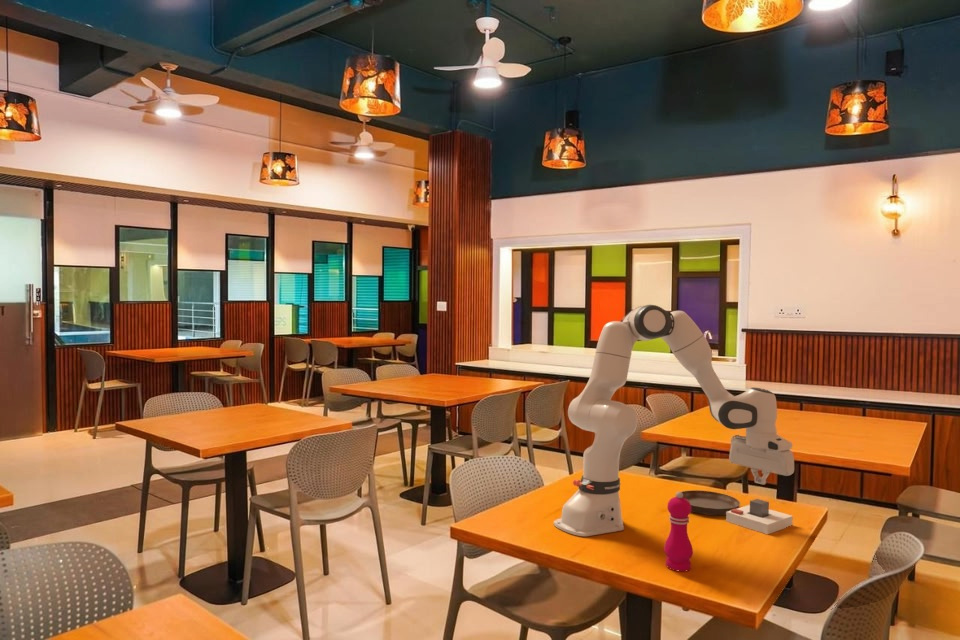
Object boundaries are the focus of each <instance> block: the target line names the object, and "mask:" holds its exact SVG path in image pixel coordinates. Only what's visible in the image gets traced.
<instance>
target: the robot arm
mask: <svg viewBox="0 0 960 640" xmlns="http://www.w3.org/2000/svg"><path fill="white" fill-rule="evenodd" d="M659 338H660V339H662V340H663V341H664V342H665V343H666V344H667V345H668V347H669V349H670V351H671V352H672V354H673V356H674V357H675V359H677V361H678V362H679V363H680V364H681V366H682V367H684V369H685V370H687V371H688V372H689V373H690V374H691V375H693V377H694V379H696V381H697V383H698V384H699V386H700V388H701V390H702V391H703V393H704V394H705V396H706V398H707V400H708V407H709V412H710V415H711V416H712V418H713V419H714V420H715V421H716V422H718V423H720V424H721V425H722V426H723V427H724V428H726V429H730V430H741V429H742V430H743V429H745V436H742V435H739V434H735V435H733V436H732V437H731V439H730V449H729V457H728V458H729V462H730V463H731V464H735V465H738V466H742V467H747V468H749V469H750V472H751V474H752V476H753V477H754V479H753V480H754V483H756V484H760V485H766V484H767V478H768V477H769V475H770V474H771V473H772V474H777V475H779V476H785V477H787V476H791V475H792V474H794V472H795V458H794V453H793V451H792V450H791V449H792V448H793V443H792V442H791V441H789V440H787V439H785V437H782V436H780V435H779V434H777V432H778V430H777V427H776V422H777V419H778V406H777V398H776V395H775V394H774V393H773V392H771V390H769V389H765V388H761V387H750V388H749V389H747V390H745V391H744V392H742V393H740V394H738V395H734V394H732V393H731V392H730V391H728V390H727V389H726V388H725V386H724V385H723V383H722V381H721V380H720V378H719V376H718V375H717V374H716V372H715V369H714V367H713V363H712V358H713V352H712V349H711V346H710V344H709V342H708V340H707V338H706V337H705V334H704V333H703V332H702V330H701V329H700V328H699V326H698V325H697V324H696V322H695V321H694V320H693V319H692V318H691V317H690V316H689V315H688V314H687V313H686V312H685V311H683V310H673V311H671V312H670V311H667V310H666V309H664V308H662V306H661V307H660V306H658V305H654V304H646V305H642V306H641V305H639V306H638V307H635V308H634V309H632V310H630V311H628V313H626V314H625V315H624V317H623V318H622V319H621V320H620V321H619V320H613V321H609V322H607V323H605V324H604V325H603V328H602V329H601V332H600V335H599V338H598V341H597V344H596V349H595V354H594V359H593V364H592V368H591V372H590V376H589V379H588V381H587V383H586V385H585V387H584V389H583V390H582V391H581V392H580V394H579V395H577V396H576V397H575V398H573V399H572V400H571V401H570V403H569V405H568V409H567V416H568V420H569V421H570V422H571V424H573V425H575V426H576V427H578V428H579V429H581V430H583V431H588V432H592V433H594V440H593V443H592V445H590V446H588V447H587V448H586V449H584V452H583V458H582V459H583V461H582V462H583V463H582V476H581V478H580V480H578V479H577V478H575V479H573V480H572V485H573V486H576V487H577V488H578V489H577V491H575V493H574V494H573V495H572V496H571V497H570V498H569V499H567V501H566V502H565V503H564V504H563V506H562V511H561V517H560V518H557V519H554V520H553V525H554V526H555V527H556V528H557V529H559V530H561V531H563V532H565V533H568V534H571V535H574V536H577V537H583V538H584V537H591V536H596V535H602V534H608V533H615V532H621V531H624V530H625V525H624V521H623V516H622V515H623V514H622V508H621V507H622V506H621V499H620V491H621V478H620V477H619V473H620V471H619V469H620V455H621V452H622V449H623V445H624V443H625V442H626V440H628V439H629V437H631V436H632V435H633V434H634V433H635V431H636V430H637V427H638V423H639V419H638V418H639V417H638V413H637V411H636V410H635V409H634V408H633V407H631V406H630V405H627V404H626V403H624V402H621V401H618V400H612V398H613V396H614V394H615V392H616V391H617V390H619V389H620V388H622V387H623V386H625V384H626V382H627V380H628V375H629V374H628V373H629V369H630V362H631V356H632V350H633V348H634V345H635V343H636V342H643V341H644V342H648V341H653V340H656V339H659ZM759 471H761V474H762V476H760V475H759Z"/></svg>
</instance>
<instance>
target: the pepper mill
mask: <svg viewBox="0 0 960 640" xmlns="http://www.w3.org/2000/svg"><path fill="white" fill-rule="evenodd" d="M682 492H683V491H677V492H676V493H675V495H676V497H672V498H670V499H669V501H668V503H667V510H668V511H667V512H668V513H669V515H668V517H669V519H668V520H669V522H670V531H669V534H668V536H667V538H666V541H665V543H664V549H663V551H664V554H665V555H666V559H665V566H666V567H667V566H668V567H669V568H671V569H674V570H679V571H685V572H687V571H686V570H689V569H690V568H691V567H692V562H691V558H692V557H693V554H694V549H693V545H692V543H691V540H690V538H689V535H688V534H689V533H688V524H689V523H690V517H689V515H690V514H691V512H692V511H691V504H690V502H689V501H688V500H687V499H685V498H682V497H683V493H682ZM669 568H668V569H669ZM671 569H670V570H671ZM690 570H691V569H690ZM690 570H689V571H690ZM679 571H678V572H679Z"/></svg>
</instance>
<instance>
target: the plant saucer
mask: <svg viewBox="0 0 960 640" xmlns="http://www.w3.org/2000/svg"><path fill="white" fill-rule="evenodd" d="M681 492H682V493H683V497H682V498H685V499H687V500H688V501H689V502H690V504H691V512H692V511H693V513H697V514H700V513H701V515H708V516H723V515H724V516H725V515H726V512H728V511H731V510H732V509H737V508H739V507H740V505H741V502H740V500H738V499H737V498H735V497H733V496H732V495H731V496H730V495H728V494H725V493H720V492H716V491H711V490H710V491H709V490H700V489H699V490H695V489H694V490H684V491H683V490H682V491H681ZM674 495H675V497H676V494H674Z"/></svg>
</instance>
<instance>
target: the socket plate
mask: <svg viewBox="0 0 960 640" xmlns="http://www.w3.org/2000/svg"><path fill="white" fill-rule="evenodd" d="M725 515H726V516H725V518H726V519H725V522H727V523H730V524H733V525H737V526H739V527H743V528H747V529H750V530H751V531H756V532H758V533H762V534H765V535H770V534H772V533H776V532H778V531H781V530H784V529H787V528H789V527H788V526H790V527H792V526H793V523H794V522H793V517H794V516H793V515H791V514H787V513H784V512H780V511H777V510H774V509H773V510H772V509H769V516H767V517H764V518H761V517H757V516H754V515H751V514H750V504H748V505H743V506H742V507H738V508H737V509H732V510H731V511H728V512H726V514H725ZM791 525H792V526H791ZM786 527H787V528H786Z"/></svg>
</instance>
